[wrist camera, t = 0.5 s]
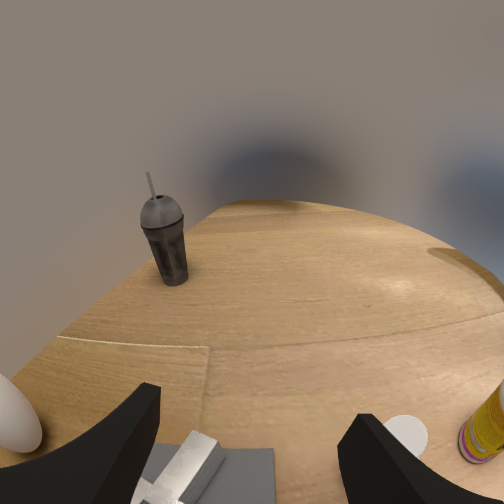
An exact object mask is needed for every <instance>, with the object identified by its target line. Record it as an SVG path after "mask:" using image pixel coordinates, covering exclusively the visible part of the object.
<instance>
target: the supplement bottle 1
mask: <svg viewBox="0 0 504 504" xmlns="http://www.w3.org/2000/svg"><path fill="white" fill-rule="evenodd" d="M383 425H384V426H385V427H386V428H387V429H388V430H389V431H390V432H391V433H392V434H393V435H394V436H395V437H396V438H397V439H398V440H399V441H400V442H401V443H402V444H403V445H404V446H405V447H406V448H407V449H408V450H409V451H410V452H411V453H412V454H413V455H414V456H415V457H417V458H418V459H419V460H420V457H421V454H422V452H423V451H424V449H425V448H426V445H427V441H428V433H427V430H426V427H425V426H424V424H423V423H422V422H421V421H420V420H419V419H417V418H415V417H413V416H409V415H399V416H395V417H393V418H391V419H389V420H388V421H386V422H385V423H384V424H383Z"/></svg>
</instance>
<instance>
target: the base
mask: <svg viewBox="0 0 504 504" xmlns="http://www.w3.org/2000/svg"><path fill="white" fill-rule="evenodd" d="M180 447H181V446H177V445H169V444H161V443H154V445H153V448H152V450H151V453H150V455H149V458H148V460H147V463H146V465H145V467H144V470H143V472H142V475H141V477H142V478H143V479H145V480H147V481H148V482H150V483H151V484H154V482H155V481H156V480H157V478H158V477H159V476H160V474H161V473H162V472H163V470H164V469H165V468H166V466H167V465H168V464H169V462H170V461H171V460H172V458H173V457H174V455H175V454H176V453H177V451H178V450H179V449H180ZM222 450H223V452H224V454H225V456H226V457H225V459H224V460H223V462H222V463H221V465H220V467H219V468H218V470H217V471H216V473H215V474H214V476H213V477H212V479H211V480H210V482H209V483H208V485H207V487H206V488H205V489H204V491H203V492H202V494H201V495H200V497H199V498H198V500H197V501H196V503H195V504H275V480H274V450H273V448H266V449H222Z"/></svg>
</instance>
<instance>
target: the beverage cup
mask: <svg viewBox="0 0 504 504" xmlns="http://www.w3.org/2000/svg"><path fill="white" fill-rule="evenodd" d="M146 175H147V179H148V182H149V186H150V189H151V193H152V198H150V199H149V200H148V201H147V202H146V203H145V205H144V206H143V208H142V211H141V227H142V228H143V231H144V233H145V236H146V237H147V239H148V241H149V244H150V247H151V250H152V252H153V255H154V258H155V261H156V263H157V266H158V269H159V271H160V274H161V276H162V278H163V280H164V283H165V284H166V285H168V286H177V285H181V284H182V283H184V282H185V281H186V280H187V279H188V274H187V261H186V253H185V244H184V235H183V218H184V215H183V213H182V210H181V208H180V206H179V205H178V203H177V202H176V201H175V200H174V199H173V198H171V197H168V196H165V195H157V196H156V195H155V192H154V188H153V184H152V181H151V177H150V173H149V172H146Z"/></svg>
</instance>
